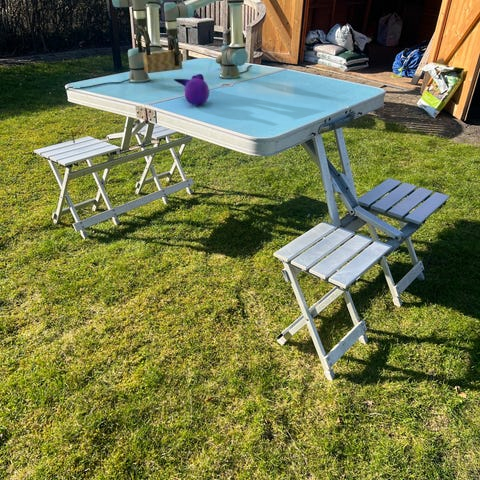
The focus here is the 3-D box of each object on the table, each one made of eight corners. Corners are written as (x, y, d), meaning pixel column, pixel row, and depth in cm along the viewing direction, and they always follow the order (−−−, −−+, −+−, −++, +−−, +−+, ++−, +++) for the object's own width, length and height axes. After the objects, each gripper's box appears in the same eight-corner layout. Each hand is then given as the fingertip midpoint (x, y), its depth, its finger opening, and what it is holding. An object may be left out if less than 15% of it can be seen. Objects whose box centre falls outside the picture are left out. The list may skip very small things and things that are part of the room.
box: (148, 73, 301) (146, 54, 294) (144, 71, 306) (142, 52, 299) (182, 69, 311) (181, 50, 305) (178, 67, 316) (177, 49, 310)
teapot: (219, 71, 369) (218, 51, 361) (212, 69, 377) (212, 49, 370) (241, 68, 378) (241, 49, 370) (234, 66, 386) (234, 47, 379)
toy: (197, 96, 290) (209, 111, 269) (171, 92, 283) (181, 106, 262) (203, 71, 282) (215, 85, 261) (175, 66, 275) (186, 79, 254)
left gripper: (153, 19, 279) (157, 55, 290) (138, 16, 297) (142, 50, 308) (142, 20, 275) (146, 56, 287) (127, 17, 293) (132, 52, 304)
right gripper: (183, 29, 293) (185, 66, 305) (171, 27, 308) (174, 62, 320) (172, 30, 290) (175, 67, 302) (160, 27, 305) (164, 63, 317)
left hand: (144, 53), depth 297 cm, fingers open, 13 cm apart
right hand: (175, 65), depth 311 cm, fingers closed on box, 7 cm apart
